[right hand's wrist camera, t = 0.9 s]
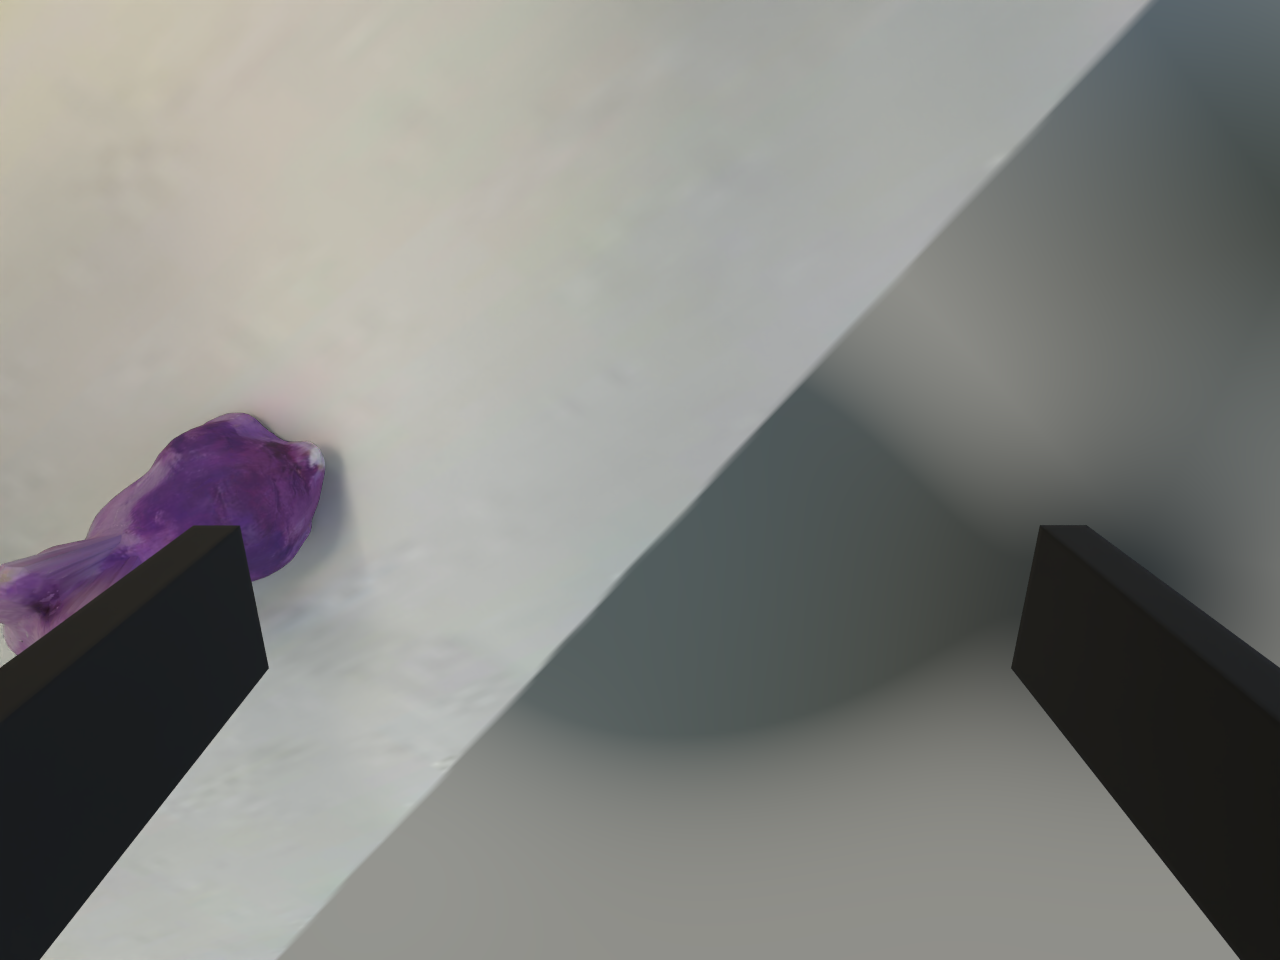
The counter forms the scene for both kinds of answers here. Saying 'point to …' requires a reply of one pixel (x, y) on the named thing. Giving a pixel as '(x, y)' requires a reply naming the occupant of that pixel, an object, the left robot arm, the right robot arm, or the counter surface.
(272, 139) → the counter surface
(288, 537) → the figurine
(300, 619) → the counter surface
